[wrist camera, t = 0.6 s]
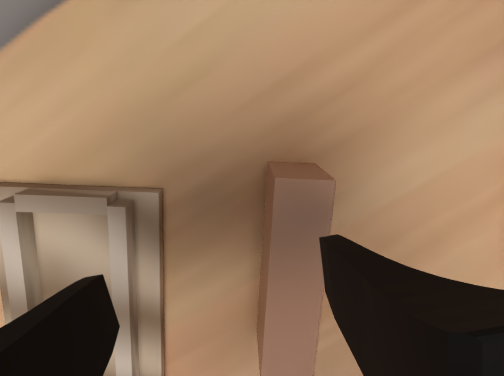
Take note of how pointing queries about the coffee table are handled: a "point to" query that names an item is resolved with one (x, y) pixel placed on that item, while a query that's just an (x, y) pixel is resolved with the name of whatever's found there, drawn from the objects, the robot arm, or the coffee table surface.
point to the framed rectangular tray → (89, 259)
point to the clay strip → (292, 267)
